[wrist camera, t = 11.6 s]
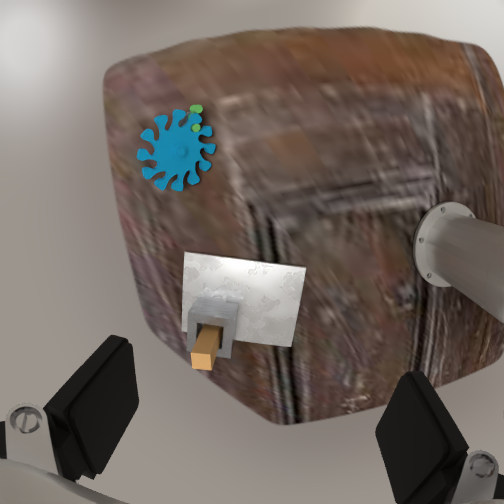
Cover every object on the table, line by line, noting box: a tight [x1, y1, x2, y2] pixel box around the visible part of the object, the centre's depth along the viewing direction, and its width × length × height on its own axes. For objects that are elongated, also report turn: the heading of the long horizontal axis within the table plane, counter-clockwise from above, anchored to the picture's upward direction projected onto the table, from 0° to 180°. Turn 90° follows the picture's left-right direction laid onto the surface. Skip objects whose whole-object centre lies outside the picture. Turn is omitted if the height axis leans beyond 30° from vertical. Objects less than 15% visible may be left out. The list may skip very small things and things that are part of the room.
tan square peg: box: [191, 324, 224, 370], centre depth 36 cm, size 2×2×10 cm
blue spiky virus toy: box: [137, 105, 216, 191], centre depth 34 cm, size 11×6×10 cm
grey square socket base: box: [182, 251, 306, 358], centre depth 38 cm, size 16×12×6 cm
